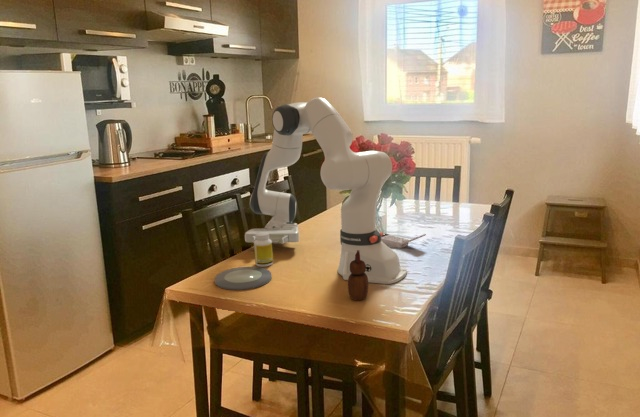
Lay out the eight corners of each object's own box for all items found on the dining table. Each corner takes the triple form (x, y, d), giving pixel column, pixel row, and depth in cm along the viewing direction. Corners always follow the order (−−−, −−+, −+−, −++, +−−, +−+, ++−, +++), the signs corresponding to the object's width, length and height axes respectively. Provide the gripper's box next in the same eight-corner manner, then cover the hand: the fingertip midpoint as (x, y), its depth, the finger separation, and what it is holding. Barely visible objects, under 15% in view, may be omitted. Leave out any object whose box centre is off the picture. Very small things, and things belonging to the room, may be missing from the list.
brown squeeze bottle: (367, 303, 149) (366, 252, 146) (346, 302, 150) (345, 251, 147) (369, 293, 156) (368, 244, 152) (350, 293, 157) (348, 244, 154)
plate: (282, 274, 174) (282, 271, 174) (247, 294, 159) (247, 289, 159) (239, 267, 183) (239, 263, 183) (203, 284, 168) (202, 280, 168)
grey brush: (418, 237, 190) (362, 226, 207) (418, 253, 192) (362, 241, 208) (427, 233, 195) (371, 223, 211) (426, 249, 196) (371, 238, 212)
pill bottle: (276, 264, 185) (275, 233, 182) (262, 268, 181) (260, 237, 178) (266, 260, 189) (264, 230, 187) (251, 264, 186) (249, 234, 183)
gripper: (248, 223, 205) (239, 233, 192) (301, 223, 203) (295, 233, 189) (249, 239, 206) (240, 250, 193) (302, 239, 204) (296, 250, 191)
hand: (268, 241), depth 191 cm, fingers open, 8 cm apart
